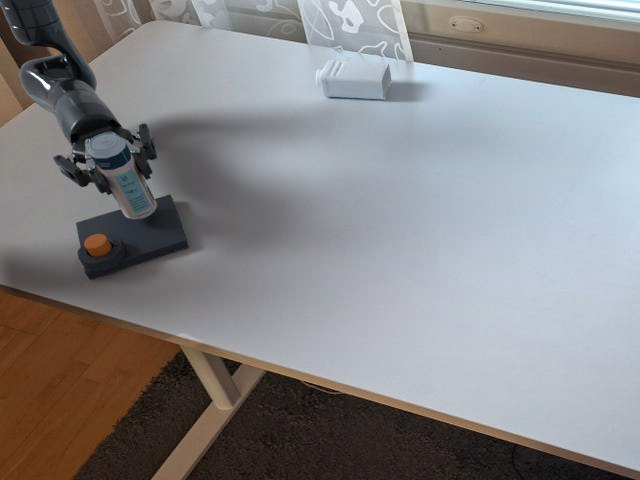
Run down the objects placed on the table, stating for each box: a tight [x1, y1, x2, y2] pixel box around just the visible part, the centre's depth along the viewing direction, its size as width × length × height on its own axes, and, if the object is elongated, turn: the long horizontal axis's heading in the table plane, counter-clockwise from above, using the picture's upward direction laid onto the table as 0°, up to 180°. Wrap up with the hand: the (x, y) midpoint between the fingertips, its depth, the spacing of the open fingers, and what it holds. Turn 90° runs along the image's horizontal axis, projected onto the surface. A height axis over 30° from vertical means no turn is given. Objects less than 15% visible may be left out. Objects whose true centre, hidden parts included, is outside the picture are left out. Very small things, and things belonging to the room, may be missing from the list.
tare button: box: [84, 234, 112, 257], centre depth 94 cm, size 3×3×2 cm
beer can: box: [89, 133, 157, 219], centre depth 95 cm, size 5×5×12 cm
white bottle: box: [315, 59, 392, 101], centre depth 122 cm, size 6×13×4 cm, turn 81°
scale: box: [75, 194, 190, 280], centre depth 99 cm, size 14×13×3 cm
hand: (126, 181), depth 93 cm, fingers closed on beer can, 4 cm apart
